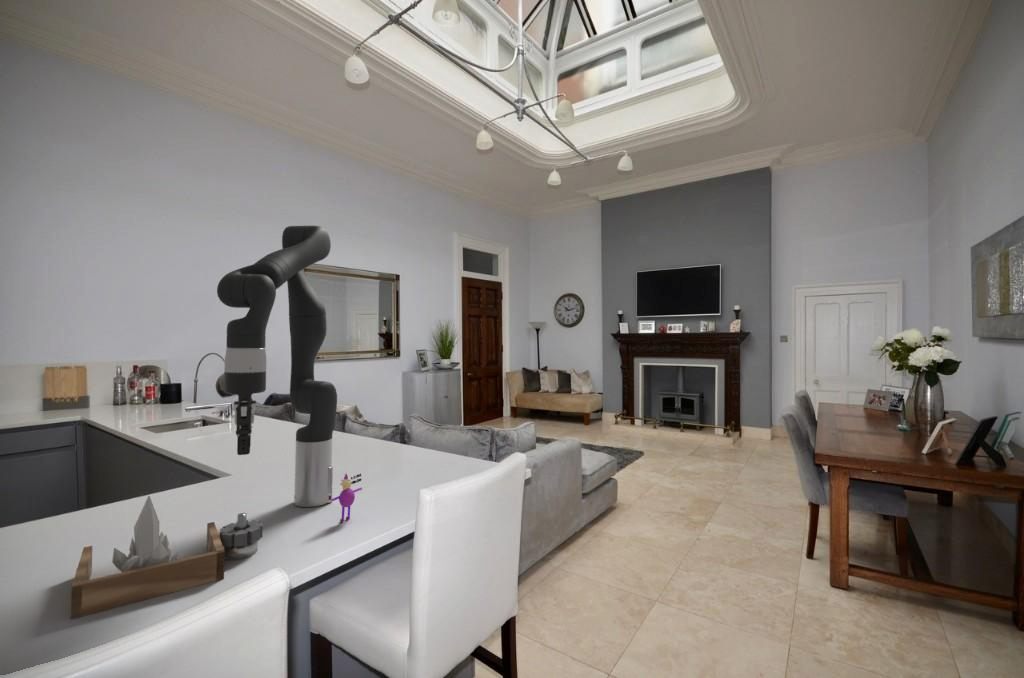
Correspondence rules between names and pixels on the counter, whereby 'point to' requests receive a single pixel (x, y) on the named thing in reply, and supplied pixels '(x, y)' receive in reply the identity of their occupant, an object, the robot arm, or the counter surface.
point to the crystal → (145, 543)
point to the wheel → (241, 534)
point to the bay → (144, 579)
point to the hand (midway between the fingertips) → (244, 450)
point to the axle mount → (241, 551)
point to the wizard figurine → (346, 494)
